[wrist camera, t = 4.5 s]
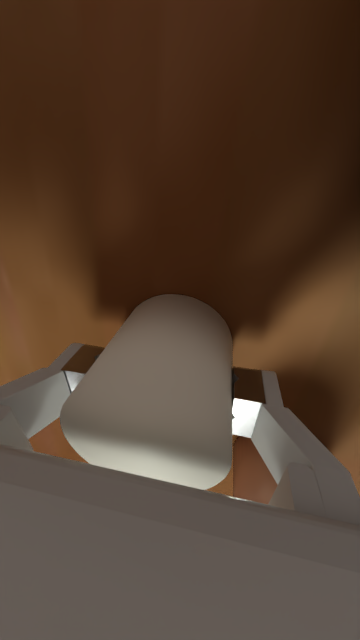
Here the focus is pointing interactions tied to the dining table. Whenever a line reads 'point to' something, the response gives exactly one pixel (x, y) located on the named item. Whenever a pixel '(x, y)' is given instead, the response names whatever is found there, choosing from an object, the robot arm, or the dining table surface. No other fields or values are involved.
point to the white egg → (159, 396)
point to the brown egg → (251, 473)
